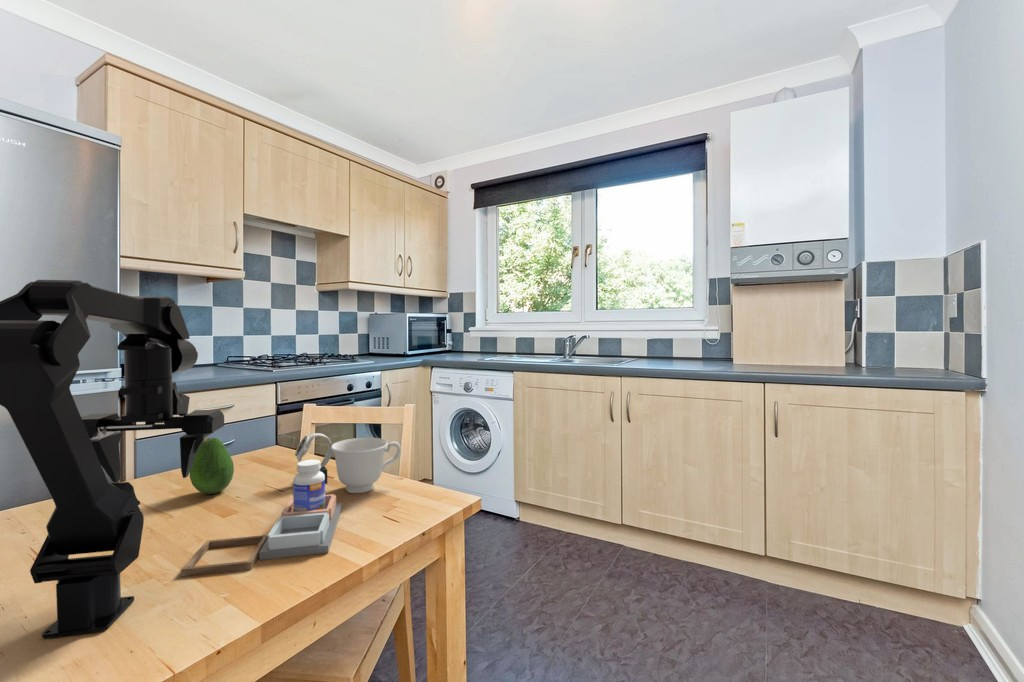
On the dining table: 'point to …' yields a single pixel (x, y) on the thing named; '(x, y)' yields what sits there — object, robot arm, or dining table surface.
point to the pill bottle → (309, 486)
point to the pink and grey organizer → (302, 531)
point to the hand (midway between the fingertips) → (151, 479)
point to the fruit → (211, 467)
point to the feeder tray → (224, 567)
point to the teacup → (361, 461)
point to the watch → (305, 446)
